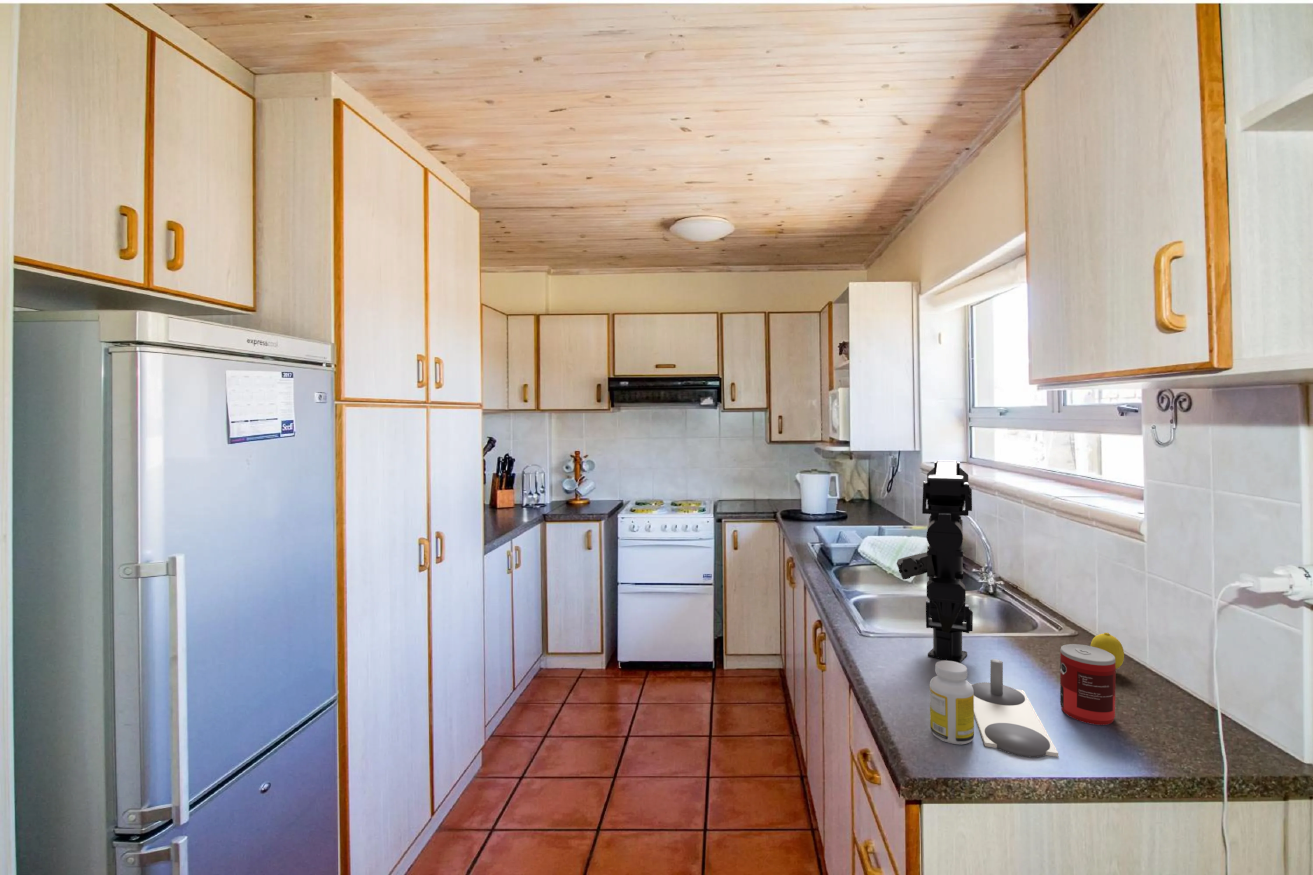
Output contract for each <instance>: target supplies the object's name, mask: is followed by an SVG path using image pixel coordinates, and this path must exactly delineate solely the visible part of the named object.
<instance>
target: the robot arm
mask: <svg viewBox="0 0 1313 875" xmlns="http://www.w3.org/2000/svg"><path fill="white" fill-rule="evenodd" d="M933 464H934V466H933V468H932V469H931V470H930V471H928V473H927V474H926V481H923V484H922V509H921V510H922V511H921V512H922V513H921V514H923V515H929V517H928V526H927V530H926V541H927V543H928V545H927V550H926V552H921V553H917V554H916V553H915V554H914V555H913V554H912V555H909V556H905V557H902V558H899V559H897V562H896V565H897V568H898V574H899V573H900V576H901V578H902V580H908V579H909V580H910V579H911V578H913V577H916V576H917V577H918V576H920V575H924V574H926V577H928V581H927V582H926V598H927V599H925V600H926V601H925V626H926V629H932V649H931V650H929V651H928V653H927V656H928V657H931V658H936V659H941V660H942V661H954V662H958V663H962V661H964V659H965V658H966V657H967V655H968V652H967V651H965V650H963V633H966V634H970V632H973V624H974V623H973V622H974V621H973V620H974V617H973V615H974V614H973V613H974V612H973V611H972V610H971V607H970V604H967V603H966V600H967V599H966V596H967V595H966V592H967V591H966V590H967V589H966V585H965V584H964V583H963V580H964V568H963V567H964V566H963V564H964V563H963V557H964V550H963V549H964V548H963V547H964V546H963V545H964V544H963V540H964V536H963V535H964V532H963V530H964V529H963V523H964V522H963V518H962V517H968V516H969V512H973V494H972V493H973V491H972V490H973V489H972V487H971V486H970V484H969V474H968V473H967V472H966V471H965V470H963V469H962V468H961V467H960V465H961V462H960V461H958V460H952V459H951V460H946V459H945V460H943V459H940V460H939V459H938V460H937V461H934V463H933Z"/></svg>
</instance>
